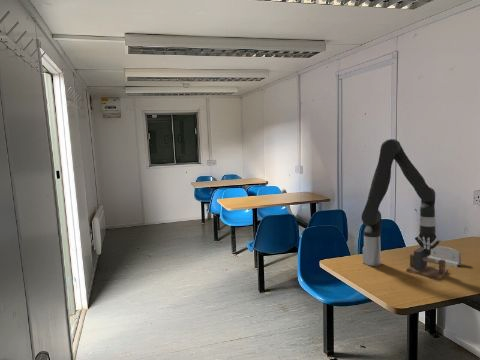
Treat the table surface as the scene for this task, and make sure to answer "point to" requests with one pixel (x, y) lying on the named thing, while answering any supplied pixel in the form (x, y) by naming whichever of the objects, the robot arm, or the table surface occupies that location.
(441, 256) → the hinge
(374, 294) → the table surface
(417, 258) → the collar
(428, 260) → the pipe stand
